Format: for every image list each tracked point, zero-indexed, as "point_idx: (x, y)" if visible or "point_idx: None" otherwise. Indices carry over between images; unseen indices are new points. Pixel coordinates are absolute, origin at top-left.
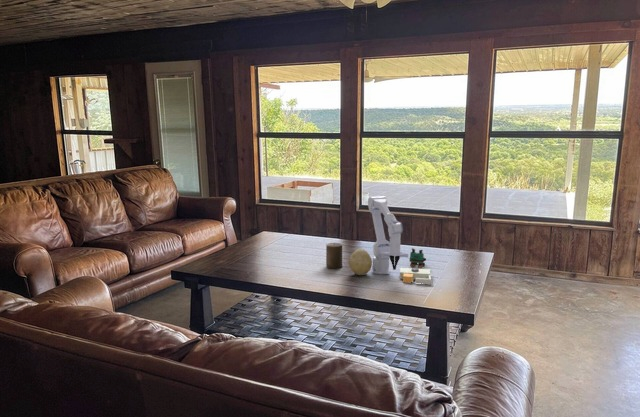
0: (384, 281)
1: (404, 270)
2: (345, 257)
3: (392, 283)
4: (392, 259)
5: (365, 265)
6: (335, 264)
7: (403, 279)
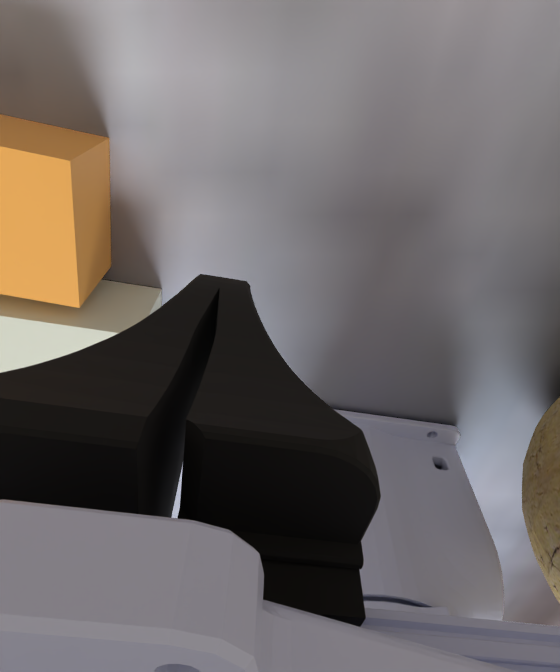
0: (392, 162)
1: None
2: None
3: (282, 60)
4: (262, 412)
5: None
6: None
7: (87, 144)
